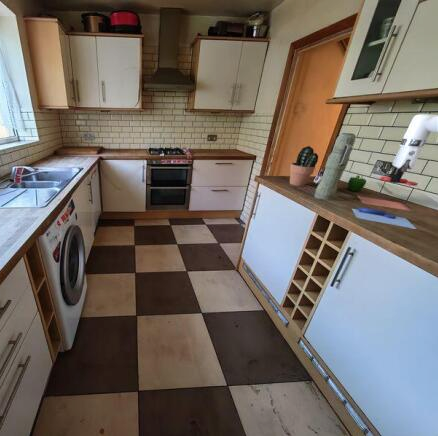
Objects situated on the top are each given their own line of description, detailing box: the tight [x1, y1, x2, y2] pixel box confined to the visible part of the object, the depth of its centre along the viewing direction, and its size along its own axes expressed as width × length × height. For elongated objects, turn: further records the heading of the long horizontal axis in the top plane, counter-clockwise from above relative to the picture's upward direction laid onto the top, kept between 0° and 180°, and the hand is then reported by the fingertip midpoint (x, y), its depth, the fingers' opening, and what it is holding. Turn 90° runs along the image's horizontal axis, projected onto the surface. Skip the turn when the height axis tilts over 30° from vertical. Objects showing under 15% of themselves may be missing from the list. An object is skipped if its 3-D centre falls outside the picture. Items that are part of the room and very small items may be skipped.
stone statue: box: [314, 132, 356, 201], centre depth 122 cm, size 9×12×35 cm
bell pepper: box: [347, 175, 367, 192], centre depth 143 cm, size 8×8×10 cm
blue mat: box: [351, 208, 417, 230], centre depth 106 cm, size 20×13×1 cm, turn 59°
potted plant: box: [289, 145, 319, 187], centre depth 149 cm, size 14×14×25 cm
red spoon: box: [379, 176, 419, 187], centre depth 112 cm, size 14×4×2 cm, turn 60°
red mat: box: [357, 195, 414, 212], centre depth 124 cm, size 20×13×1 cm, turn 59°
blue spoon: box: [357, 206, 397, 219], centre depth 109 cm, size 14×4×2 cm, turn 59°
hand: (392, 181), depth 113 cm, fingers closed on red spoon, 2 cm apart
